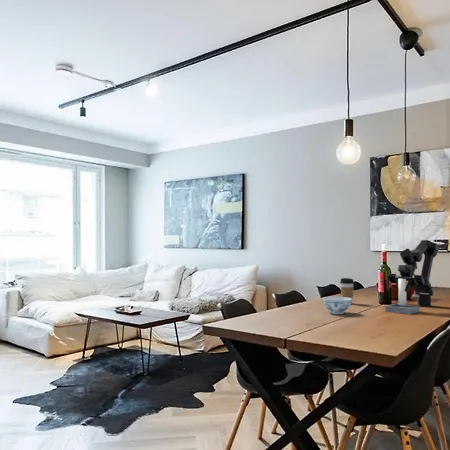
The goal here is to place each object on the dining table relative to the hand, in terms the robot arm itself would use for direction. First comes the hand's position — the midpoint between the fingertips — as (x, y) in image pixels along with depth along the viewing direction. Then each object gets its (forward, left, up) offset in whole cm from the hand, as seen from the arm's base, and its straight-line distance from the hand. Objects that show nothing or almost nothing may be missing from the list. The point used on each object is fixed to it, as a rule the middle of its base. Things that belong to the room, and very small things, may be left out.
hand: (401, 291), depth 242 cm
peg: (-1, -1, -8) cm, 8 cm away
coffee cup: (+24, -29, -11) cm, 39 cm away
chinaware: (+35, +8, -11) cm, 38 cm away
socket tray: (-1, -1, -11) cm, 11 cm away
